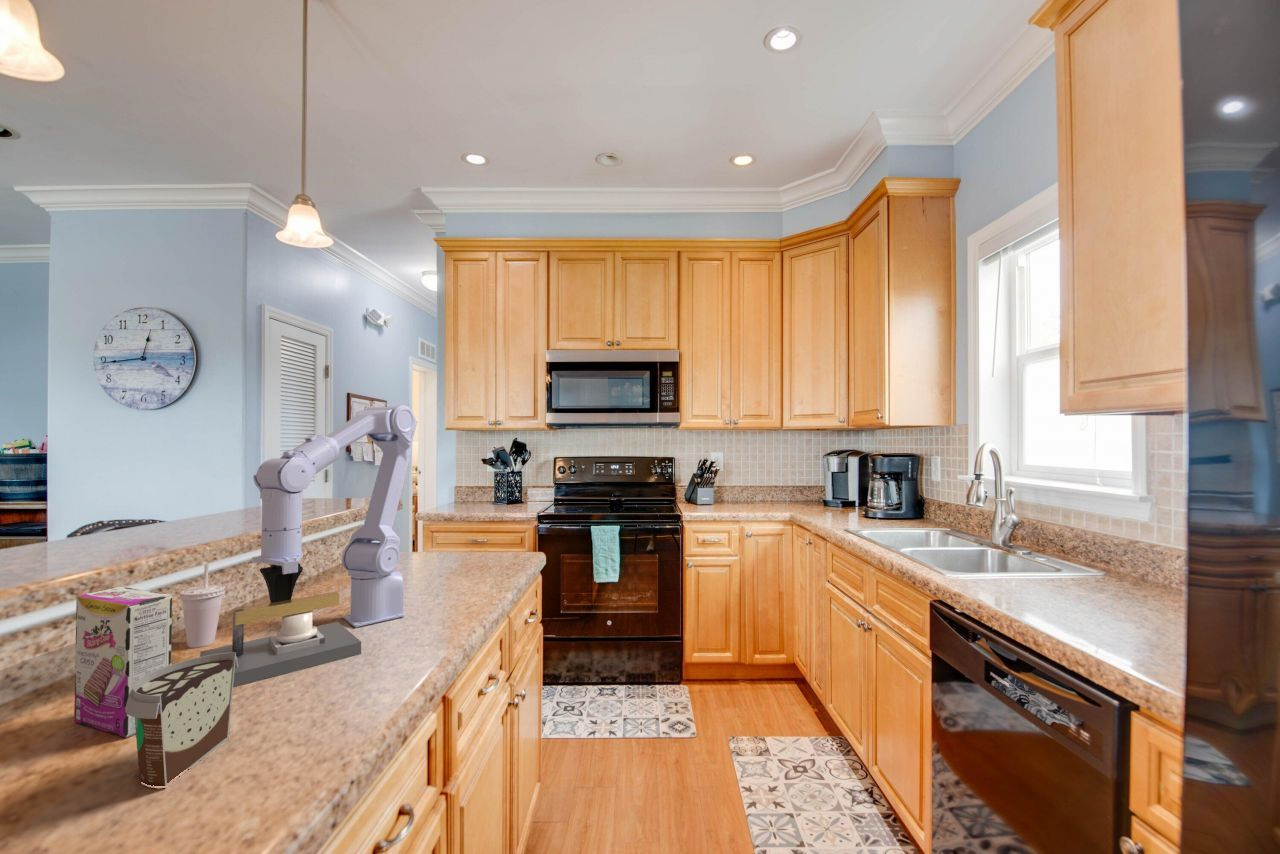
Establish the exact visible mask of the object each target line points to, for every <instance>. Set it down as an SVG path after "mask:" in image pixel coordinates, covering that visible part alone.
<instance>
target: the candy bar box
mask: <svg viewBox="0 0 1280 854" xmlns="http://www.w3.org/2000/svg"><path fill="white" fill-rule="evenodd" d="M75 598H76V604H75V605H76V608H75V611H76V613H75V615H76V616H75V666H74V668H75V669H74V672H75V673H74V675H75V677H74V708H73V709H74V710H73V711H74V712H73V722H74V723H77V724H80V725H84V726H87V727H90V728H93V729H97V730H100V731H102V732H103V731H104V732H107V733H109V734H113V735H117V736H118V737H119V736H120V737H123V738H130V737H133V736H136V729H135V717H132V716H130V715H128V714H127V713H126V712H125V707H126V704H127V700H128V697H129V694H130V692H131V690H132V689H133V687H134V685H135V683H136V682H137V681H138V680H140V679H141V678H142V677H144V676H146V675H148V674H150V673H152V672H154V671H156V670H158V669H161V668H163V667H166V666H169V665H172V629H173V628H172V627H173V625H172V624H173V623H172V622H173V620H172V618H173V617H172V616H173V595H172V594H168V593H164V592H163V593H161V592H156V591H151V590H150V591H149V590H143V589H138V588H134V587H133V588H131V587H125V586H117V587H113V588H111V587H110V588H108V589H101V590H97V591H94V592H86V593H84V594H80V595H76V597H75Z"/></svg>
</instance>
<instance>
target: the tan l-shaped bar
mask: <svg viewBox="0 0 1280 854" xmlns="http://www.w3.org/2000/svg"><path fill="white" fill-rule="evenodd" d="M336 606H340V593H339V592H338V591H331V592H326V593H321V594H314V595H309V596H304V597H298V598H293V599H292V598H291V600H286V601H280V602H275V603H271V602H270V603H265V604H259V605H253V606H247V607H241V608H236V609H233V611H232V641H231V642H232V644H231V645H232V652H236V657H237V656H241V655H243V642H245V641H244V637H245V636H244V634H245V633H244V631H245V624H250V623H255V622H260V621H266V620H271V619H275V618H282V616H287V615H292V614H297V613H302V612H307V611H316V610H321V609H327V608H332V607H333V608H334V607H336Z"/></svg>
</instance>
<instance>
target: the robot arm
mask: <svg viewBox="0 0 1280 854" xmlns="http://www.w3.org/2000/svg"><path fill="white" fill-rule="evenodd" d="M417 424H418V420H417V419H416V417H415V415H414V412H413V411H412V409H411V407H409V406H407V405H404V404H403V405H395V406H393V405H391V406H373V405H369V406H367V407H365V408H363V410H362V409H361V410H358V411H357V412H356V414H355V416H353V417H352V418H351V419H349V420H348V421H346V422H345V423H343V424H342V425H340V426H339V427H338V428H336V429H335V430H333V431H332V432H331V433H329V434H328V435H322V434H318V435H317V434H316V435H315V434H314V435H313V434H312V435H308V436H307V437H305V438H304V440H305V441H304V442H303V443H301V444H299V445H298V446H296V447H294V448H292V449H287V450H285V451H283V452H282V454H283V455H281V457H280V458H270V459H266V460H265V461H264V462H262V463H261V464H260V466H259V467H258V469H257V471H256V474H254V475H253V477H252V479H253V482H254V485H255V487H257V488H258V490H259V494H260V495H259V499H261V501H262V502H261V541H260V543H261V545H260V547H261V548H260V556H259V555H258V556H253V557H252V558H251V562H252V563H253V564H256V563H257V564H258V563H263V564H268V565H270V566H267V567H262V568H259V572H260V574H261V575H262V577H263V579H264V582H265V584H266V587H267V592H268V597H269V602H270V603H275V602H280V601H286V600H291V599H292V597H293V593H294V589H295V586H296V584H297V581H298V579H299V578H300V576H301V574H302V573H303V569H304V567H303V566H301V564H300V563H299V562H300V560H301V559H303V556H304V553H303V551H302V548H303V547H302V544H303V543H302V541H303V498H304V496H303V494H304V493H303V492H304V490H306V489H307V488H308V487H309V486H310V484H311V481H312V480H313V477H314V476H315V475H316V474H318V473H320V472H321V471H322V470H324V469H326V468H327V467H328V466H330V465H332V464H333V463H334V462H336V461H337V460H338V459H339V456H340V451H341V450H343V449H345V448H346V447H348V446H350V445H351V444H353V443H355V442H356V441H358V440H361V439H362V438H364V437H365V436H367V437H368V438H369V440H371V441H372V442H373V444H374V445H376V447H378V448H380V451H381V452H382V457H381V460H380V463H379V467H378V472H377V474H376V478H375V482H374V485H373V489H372V493H371V496H370V497H371V498H370V500H369V504H368V507H367V508H368V509H367V512H366V515H365V518H364V522H363V524H362V526H361V527H359V528H358V529H357V530H355V531H353V532H352V534H351V536H350V539H349V542H348V544H347V545H346V547H345V548H344V549H343V552H342V554H341V564H342V566H343V568H344V569H345V570H346V571H347V572H348V573H347V574H348V575H347V576H349V577H350V605H349V608H350V612H349V614H346V615H343V618H342V619H344V620H345V621H347V622H348V623H349V624H350V625H352V627H354V628H358V627H364V626H367V625H373V624H377V623H381V622H385V621H389V620H394V619H399V618H403V617H405V616H406V615H405V613H404V597H405V596H404V595H405V594H404V592H405V591H404V589H405V588H404V586H405V585H404V579H403V575H402V573H401V572H400V571H399V570H395V569H397V567H398V565H399V562H400V556H401V554H400V544H401V537H399V536H398V534H397V533H396V532H395V531H394V530H393V528H394V527H393V526H394V523H395V519H396V515H397V511H398V507H399V504H400V503H399V502H400V500H401V495H402V491H403V487H404V482H405V480H406V475H407V470H408V467H409V465H410V459H411V455H412V451H413V441H414V437H415V434H416V433H415V432H416V429H417Z"/></svg>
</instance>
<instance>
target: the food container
mask: <svg viewBox="0 0 1280 854" xmlns="http://www.w3.org/2000/svg"><path fill="white" fill-rule="evenodd" d="M235 668H238V661H237V657H236V652H232V653H220V654H213V655H208V656H202V657H200V656H197V657H193V658H191V659H185V660H182V661H179V662H176V663H173V664H172V663H171V665H169V666H166V667H163V668H161V669H158V670H156V671H154V672H152V673H150V674H148V675H146V676H144V677H142V678H141V679H140V680H138V681H137V682H136V683H135V685H134V687H133V689H132V690H131V692H130V694H129V697H128V700H127V704H126V707H125V712H126V713H127V714H128V715H130V716H132V717H135V729H136V735H135V740H136V751H137V752H136V753H137V763H138V765H137V766H138V773H139V774H138V775H139V781H140V780H141V782H143V783H145V784H147V785H151V786H153V785H154V786H166V785H167V783H169V782H170V781H171V780H172V779H174V778H175V777H176V776H178V775H179V774H180V773H181V772H183V771H184V770H186V769H189V768H190V767H192V766H193V765H195V764H196V763H197V762H199V761H200V760H201V759H202V758H204V757H205V756H206V755H207V756H208V755H210V754H211V753H212V752H214V751H215V750H216V749H218V748H219V747H220V746H221V745H222V744H223V743H224V742H226V741H227V740H228V739H229V736H230V724H231V715H232V713H231V711H232V702H233V692H234V690H233V689H234V687H233V682H234V670H235ZM209 753H210V754H209ZM207 756H206V757H207ZM206 757H205V758H206ZM202 760H203V759H202ZM202 760H201V761H202ZM201 761H200V762H201ZM200 762H199V763H200ZM197 764H198V763H197ZM197 764H196V765H197ZM196 765H195V766H196ZM192 768H193V767H192Z"/></svg>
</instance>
